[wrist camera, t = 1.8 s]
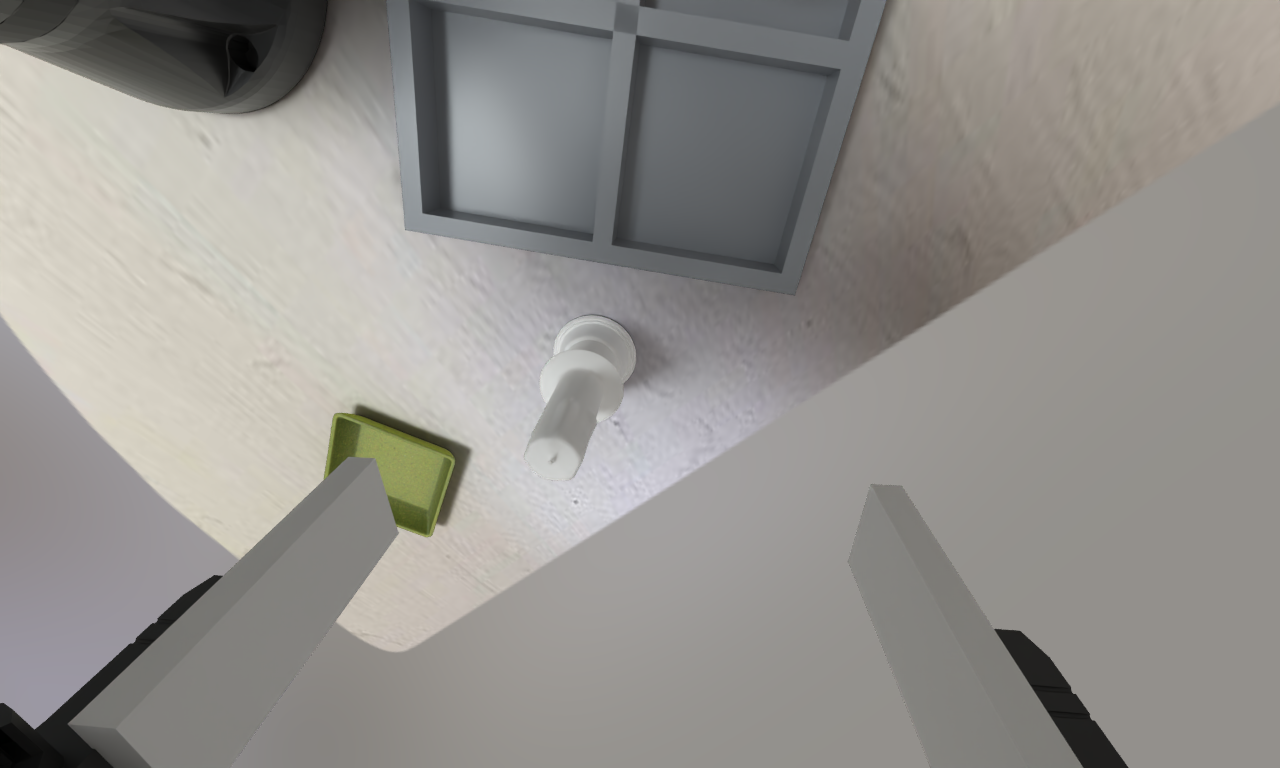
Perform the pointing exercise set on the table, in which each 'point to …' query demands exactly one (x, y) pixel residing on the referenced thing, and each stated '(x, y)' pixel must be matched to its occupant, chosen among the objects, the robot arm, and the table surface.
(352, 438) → the green square dish
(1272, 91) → the table surface
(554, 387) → the white peg
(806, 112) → the holder tray
